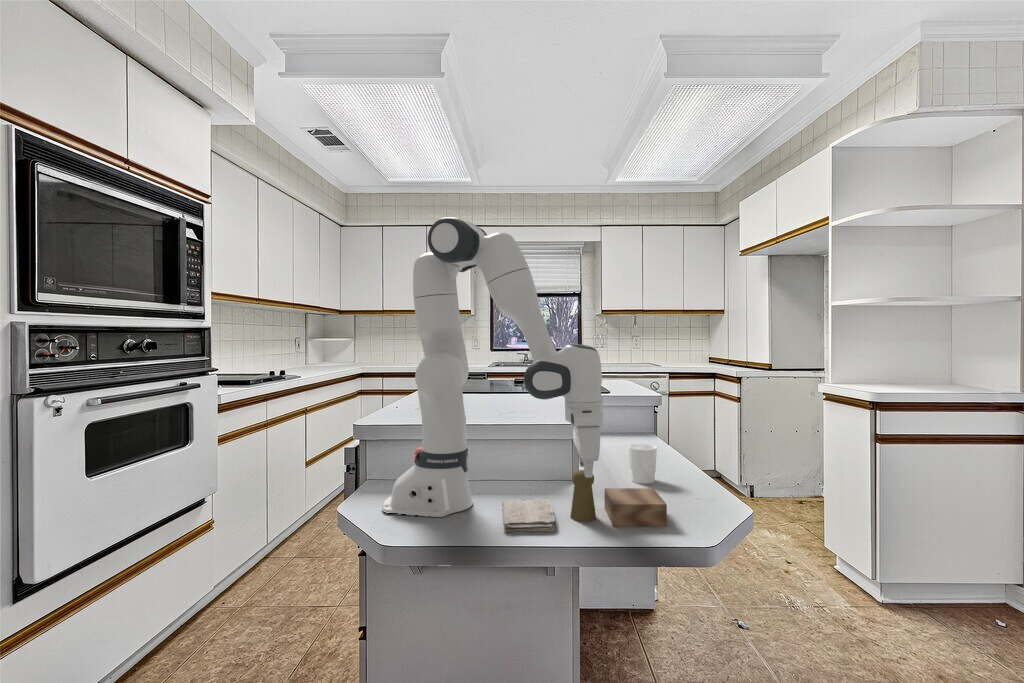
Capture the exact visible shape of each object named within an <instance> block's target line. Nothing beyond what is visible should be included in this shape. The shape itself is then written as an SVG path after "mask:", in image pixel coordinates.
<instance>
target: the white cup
mask: <svg viewBox="0 0 1024 683" xmlns="http://www.w3.org/2000/svg"><path fill="white" fill-rule="evenodd" d="M657 448H658V447H657V446H656V445H653V444H649V443H648V444H647V443H635V444H634V443H633V444H629V445H628V452H629V453H628V454H629V456H628V457H629V459H628V460H629V471H630V481H631V482H633V483H634V484H635V483H636V484H643V485H649V484H653V483H655V477H656V469H657V465H656V464H657V453H658V452H657V451H658V450H657Z"/></svg>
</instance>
